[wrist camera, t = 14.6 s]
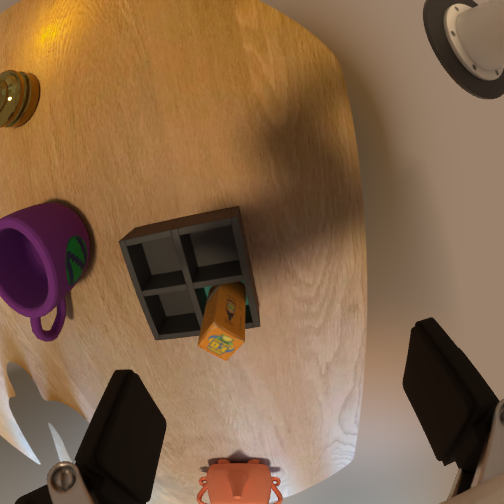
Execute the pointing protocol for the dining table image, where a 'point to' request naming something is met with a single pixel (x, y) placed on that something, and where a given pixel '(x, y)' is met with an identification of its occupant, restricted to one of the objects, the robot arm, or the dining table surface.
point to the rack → (188, 269)
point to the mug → (42, 262)
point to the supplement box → (224, 320)
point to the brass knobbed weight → (17, 97)
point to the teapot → (239, 483)
